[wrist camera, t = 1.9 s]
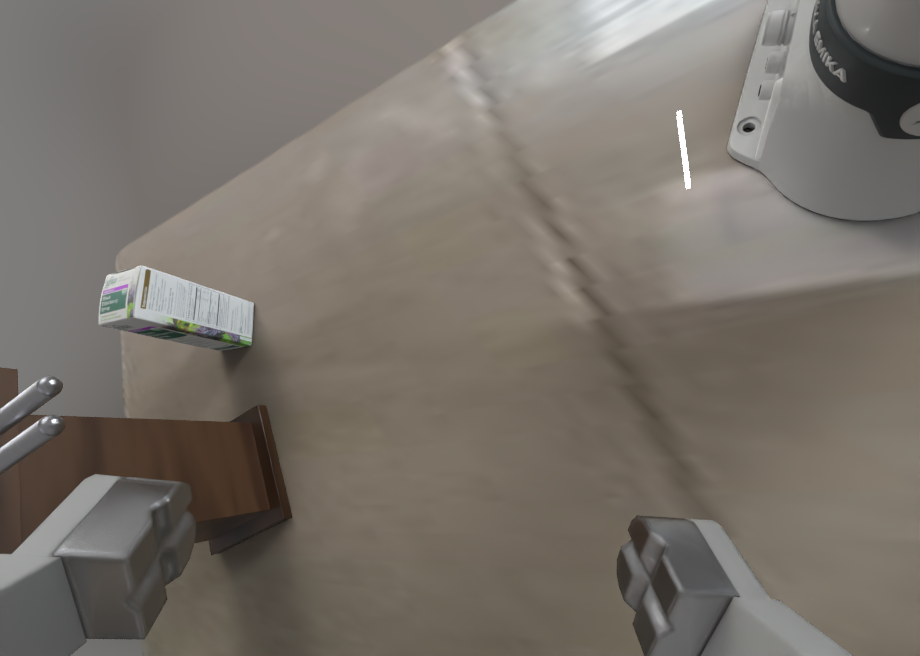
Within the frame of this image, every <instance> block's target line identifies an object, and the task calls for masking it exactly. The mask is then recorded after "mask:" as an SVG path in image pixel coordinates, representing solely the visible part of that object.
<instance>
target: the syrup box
mask: <svg viewBox="0 0 920 656" xmlns="http://www.w3.org/2000/svg"><path fill="white" fill-rule="evenodd" d="M253 311H254V303H253V302H250V301H247V300H244V299H241V298H238V297H235V296H232V295H229V294H226V293H223V292H220V291H217V290H214V289H211V288H208V287H205V286H202V285H199V284H196V283H193V282H190V281H187V280H184V279H181V278H178V277H175V276H172V275H169V274H166V273H163V272H160V271H157V270H154V269H151V268H148V267H145V266H142V265H141V266H140V265H139V266H137V267H135V268H130V269H126V270H122V271H119V272H116V273H113V274H109V275H107V277H106V280H105V283H104V286H103V290H102V294H101V299H100V306H99V325H100V326H103V327H108V328H113V329H118V330H123V331H128V332H132V333H137V334H141V335H146V336H151V337H155V338H160V339H165V340H169V341H174V342H179V343H183V344H188V345H193V346H198V347H203V348H208V349H214V350H218V351H222V350H230V349H236V348H241V347H247V346H251V345H252V332H253Z"/></svg>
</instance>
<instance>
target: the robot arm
mask: <svg viewBox="0 0 920 656" xmlns="http://www.w3.org/2000/svg"><path fill="white" fill-rule="evenodd" d="M677 123H678V130H679V138H680V146H681V153H682V161H683V169H684V176H685V184H686V189H689V188H690V186H691V182H690V174H689V167H688V159H687V152H686V144H685V137H684V129H683V122H682V114H681V111H678V112H677ZM746 128H751V129H753V131H752V132H744V131H743V130H744V129H746ZM727 151H728V153H729V154H730V155H731V156H732V157H733V158H735V159H736V160H738V161H740V162H742V163H744V164H746V165H749V166H751V167H753V168H756V169H758V170H759V171H761V172H762V173H763V174H764V175H765V176H766V177H767V178H768V179H769V180H770V182H771V183H772V184H773V185H774V186H775V187H776V188H777V189H778V190H779V191H780V192H781V193H782V194H783V195H784V196H786V197H787V198H788V199H790V200H791V201H793V202H795V203H796V204H798V205H800V206H802V207H804V208H806V209H808V210H810V211H813V212H816V213H819V214H822V215H825V216H829V217H834V218H839V219H846V220H859V221H873V220H885V219H893V218H898V217H903V216H908V215H911V214H915V213H918V212H920V0H768V2H767V5H766V8H765V11H764V14H763V18H762V21H761V25H760V29H759V32H758V36H757V39H756V43H755V47H754V50H753V54H752V57H751V61H750V64H749V68H748V72H747V75H746V79H745V82H744V86H743V90H742V93H741V97H740V100H739V104H738V108H737V111H736V115H735V118H734V122H733V125H732V129H731V133H730V136H729V140H728V144H727ZM191 501H192V493H191V488H190V485H189V484H187V483H184V482H176V481H166V480H156V479H146V478H135V477H119V476H109V475H99V474H94V475H92V476H90V477H88V478H86V479H84V480H83V481H82V482H81V483H80V484H79V485H78V486H77V487H76V488H75V489H74V490H73V492H72V493H71V494H70V495H69V496H68V497H67V498H66V499H65V500H64V501H63V502H62V503H61V504H60V505H59V506H58V507H57V508H56V509H55V510H54V511H53V512H52V513H51V514H50V515H49V516H48V517H47V518H46V519H45V520H44V521H43V522H42V523H41V524H40V526H39V527H38V528H37V529H36V530H35V531H34V532H33V533H32V534H31V535H30V536H29V537H28V538H27V539H26V540H25V541H24V542H23V543H22V544H21V545H20V546H19V547H18V548H17V549H16V550H15V551H14V552H13V553H12V554H0V656H70V655H71V654H73V653H74V652H75V651H76V650H77V649H78V648H80V647H81V646H82V645H84V644H85V643H86V639H145V638H146V636H147V635H148V633H149V631H150V629H151V627H152V626H153V624H154V622H155V620H156V619H157V617H158V615H159V613H160V611H161V610H162V608H163V606H164V604H165V603H166V601H167V595H166V589H165V586H166V585H167V584H169V583H170V582H171V581H173V580H174V579H176V578H177V577H179V576H180V575H181V574H182V572H183V570H184V568H185V566H186V565H187V563H188V561H189V559H190V556H191V553H192V549H193V546H194V543H195V537H196V521H195V517H194V516H193V515H192V514H191V513H190V512H189V511H188V510H187V507H188V505H189V504H190V502H191ZM628 531H629V534H630V536H631V538H632V539H631V540H630V541H629V542H627V543H626V544H624V545H623V546H622V547H621V549H620V552H619V555H618V558H617V579H618V584H619V588H620V591H621V594H622V597H623V599H624V601H625V602H626V603H627V604H628V605H629V606H630V607H631V608H632V609H633V610H634V611H635V612H636V615H635V618H634V621H633V626H634V629H635V632H636V634H637V637H638V640H639V642H640V645H641V648H642V650H643V653H644V656H853V655H852V654H850V653H849V652H848V651H846V650H845V649H844V648H842V647H841V646H840V645H838V644H837V643H836V642H834V641H833V640H832V639H830V638H829V637H828V636H826V635H825V634H824V633H822V632H821V631H820V630H818V629H817V628H816V627H814V626H813V625H812V624H810V623H809V622H808V621H806V620H805V619H804V618H802V617H801V616H800V615H798V614H797V613H796V612H794V611H793V610H792V609H790V608H789V607H788V606H786V605H785V604H784V603H782V602H781V601H780V600H773V599H770V597H769V596H768V594H767V593H766V591H765V590H764V588H763V587H762V585H761V584H760V583H759V581H758V580H757V578H756V577H755V575H754V574H753V572H752V571H751V569H750V568H749V566H748V565H747V563H746V562H745V560H744V559H743V557H742V556H741V554H740V553H739V551H738V550H737V549H736V547H735V546H734V544H733V543H732V541H731V540H730V538H729V537H728V535H727V534H726V532H725V531H724V529H723V528H722V526H721V525H720V524H718V523H717V522H715V521H714V520H701V519H684V518H669V517H653V516H636V517H635V518H634V519H633V520H632V521H631V524H630V526H629V528H628Z"/></svg>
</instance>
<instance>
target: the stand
mask: <svg viewBox="0 0 920 656" xmlns="http://www.w3.org/2000/svg"><path fill="white" fill-rule="evenodd" d="M17 396H18V371H17V369H9V368H0V409H1V408H2V407H4V406H5V405H6V404H7V403H9V402H10V401H11V400H13V399H14V398H15V397H17ZM45 416H47V415H29V416H27V417H26V418H25V419H23V420H22V421H20V422H19V423H18V424H16V425H15V426H14V427H12V428H11V429H9V430H8V431H7V432H5V433H4V434H3V435H1V436H0V448H1V447H2V446H4V445H5V444H7V443H8V442H9V441H11V440H12V439H14V438H15V437H16V436H18V435H19V434H21V433H22V432H23V431H25V430H26V429H28V428H29V427H30V426H32V425H33V424H35V423H36V422H37V421H39V420H40V419H42V418H43V417H45ZM60 417H62V418H63V419H64V421H65V428H64V430H63V431H62V432H61V433H60V434H59V435H57V436H56V437H54V438H53V439H51V440H50V441H49V442H47V443H46V444H44V445H43V446H41V447H40V448H38V449H37V450H36V451H34V452H33V453H31V454H30V455H28V456H27V457H25V458H24V459H22V460H21V461H20V462H18V463H17V464H15V465H14V466H12V467H11V468H9V469H8V470H7V471H5V472H4V473H2V474H1V475H0V554H12V553H13V552H14V551H15V550H16V549H17V548H18V547H19V546H20V545H21V544H22V543H23V542H24V541H25V540H26V539H27V538H28V537H29V536H30V535H31V534H32V533H33V532H34V531H35V530H36V529H37V528H38V527H39V526H40V524H41V523H42V522H43V521H44V520H45V519H46V518H47V517H48V516H49V515H50V514H51V513H52V512H53V511H54V510H55V509H56V508H57V507H58V506H59V505H60V504H61V503H62V502H63V501H64V500H65V499H66V498H67V497H68V496H69V495H70V494H71V493H72V492H73V490H74V489H75V488H76V487H77V486H78V485H79V484H80V483H81V482H82V481H83V480H84V479H86V478H88V477H90V476H92V475H94V474H99V475H109V476H119V477H135V478H146V479H156V480H166V481H176V482H184V483H187V484H189V485H190V488H191V493H192V501H191V502H190V504H189V505H188V507H187V510H188V511H189V512H190V513H191V514H192V515H193V516H194V517H195V521H196V537H195V543H199V542H203V541H208V540H209V545H210V551H211V555H214V554H218V553H221V552H223V551H225V550H227V549H229V548H231V547H233V546H235V545H237V544H239V543H241V542H243V541H245V540H247V539H249V538H251V537H253V536H255V535H257V534H259V533H261V532H263V531H265V530H267V529H269V528H271V527H273V526H275V525H277V524H279V523H281V522H283V521H285V520H287V519H289V518H291V517H292V515H291V511H290V506H289V502H288V498H287V494H286V490H285V485H284V481H283V477H282V473H281V468H280V464H279V460H278V456H277V451H276V447H275V443H274V439H273V434H272V430H271V426H270V422H269V417H268V413H267V409H266V406H264V405H257V406H255V407H254V408H252V409H250V410H249V411H247V412H245V413H244V414H242V415H240V416H239V417H237V418H235V419H234V420H232V421H230V422H214V421H187V420H159V419H131V418H103V417H76V416H60Z"/></svg>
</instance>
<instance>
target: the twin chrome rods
mask: <svg viewBox="0 0 920 656" xmlns="http://www.w3.org/2000/svg"><path fill="white" fill-rule="evenodd" d="M62 388H63V383H62V381H61V380H60V379H59V378H57V377H55V376H46V377H43V378H41V379H39V380H38V381H37V382H35V383H34V384H33V385H31V386H30V387H29V388H27V389H26V390H25V391H24V392H22V393H21V394H19V395H18V396H17V397H15V398H14V399H13V400H11V401H10V402H9V403H7V404H6V405H5V406H4V407H2V408H1V409H0V436H1V435H3V434H4V433H5V432H7V431H8V430H9V429H11V428H12V427H14V426H15V425H16V424H18V423H19V422H20V421H22V420H23V419H25V418H26V417H27V416H29V415H30V414H31V413H33V412H34V411H35V410H37V409H38V408H40V407H41V406H42V405H44V404H45V403H46V402H48V401H49V400H51V399H52V398H53V397H55V396H56V395H57V394H59V393H60V392H61V390H62ZM64 428H65V421H64V419H63V418H62V417H60V416H58V415H48V416H45V417H43V418H42V419H40V420H39V421H37V422H36V423H35V424H33V425H32V426H30V427H29V428H28V429H26V430H25V431H23V432H22V433H21V434H19V435H18V436H16V437H15V438H14V439H12V440H11V441H9V442H8V443H7V444H5V445H4V446H2V447H1V448H0V475H1V474H2V473H4V472H5V471H7V470H8V469H9V468H11V467H12V466H14V465H15V464H17V463H18V462H20V461H21V460H22V459H24V458H25V457H27V456H28V455H30V454H31V453H33V452H34V451H36V450H37V449H38V448H40V447H41V446H43V445H44V444H46V443H47V442H49V441H50V440H51V439H53V438H54V437H56V436H57V435H59V434H60V433H61V432H62V431H63V430H64Z"/></svg>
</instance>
